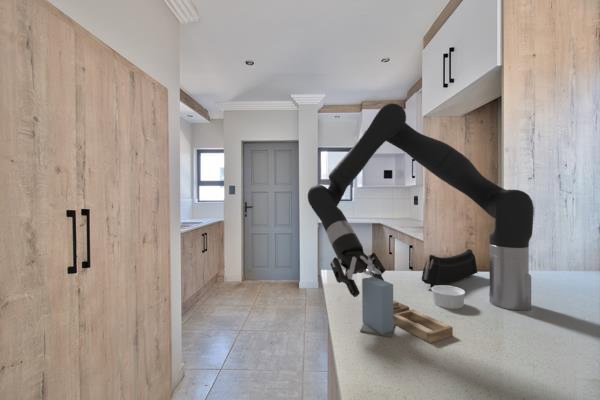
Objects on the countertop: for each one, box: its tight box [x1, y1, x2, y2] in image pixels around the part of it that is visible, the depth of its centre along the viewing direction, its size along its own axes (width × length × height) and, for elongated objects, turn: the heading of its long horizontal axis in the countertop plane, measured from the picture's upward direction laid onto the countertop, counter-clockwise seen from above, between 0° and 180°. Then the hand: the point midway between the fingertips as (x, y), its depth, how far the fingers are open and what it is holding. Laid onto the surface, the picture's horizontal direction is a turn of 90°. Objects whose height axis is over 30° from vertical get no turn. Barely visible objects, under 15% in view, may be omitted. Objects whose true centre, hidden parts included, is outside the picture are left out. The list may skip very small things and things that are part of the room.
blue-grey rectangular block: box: [361, 276, 394, 334], centre depth 71 cm, size 7×4×11 cm, turn 26°
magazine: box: [421, 248, 478, 288], centre depth 107 cm, size 17×3×30 cm
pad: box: [359, 323, 395, 338], centre depth 71 cm, size 7×7×1 cm
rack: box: [393, 299, 454, 344], centre depth 72 cm, size 17×7×4 cm, turn 26°
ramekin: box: [430, 284, 466, 310], centre depth 85 cm, size 9×9×4 cm
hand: (370, 292), depth 72 cm, fingers open, 8 cm apart
